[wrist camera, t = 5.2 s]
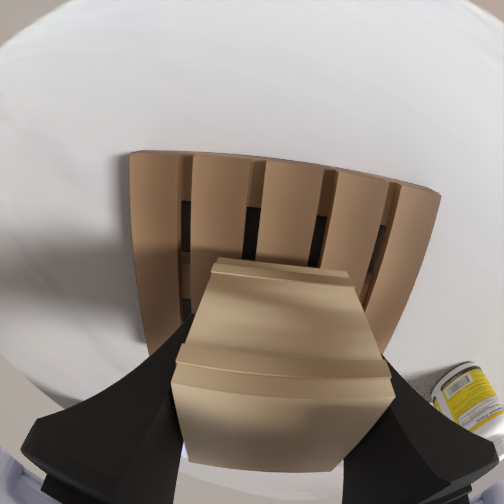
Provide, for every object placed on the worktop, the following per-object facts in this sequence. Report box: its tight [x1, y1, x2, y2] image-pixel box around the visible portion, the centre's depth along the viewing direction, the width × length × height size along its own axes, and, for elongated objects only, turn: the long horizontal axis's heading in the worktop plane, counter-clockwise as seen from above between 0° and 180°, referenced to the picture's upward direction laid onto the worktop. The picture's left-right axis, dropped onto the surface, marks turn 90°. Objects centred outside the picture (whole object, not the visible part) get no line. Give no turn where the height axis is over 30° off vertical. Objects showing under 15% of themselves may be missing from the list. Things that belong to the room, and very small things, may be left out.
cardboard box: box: [171, 257, 396, 473], centre depth 9 cm, size 5×5×6 cm
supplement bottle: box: [431, 362, 504, 461], centre depth 13 cm, size 5×5×10 cm
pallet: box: [129, 150, 441, 356], centre depth 13 cm, size 14×12×2 cm
